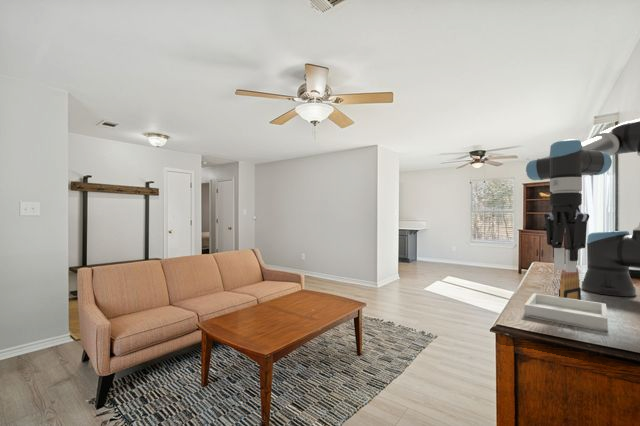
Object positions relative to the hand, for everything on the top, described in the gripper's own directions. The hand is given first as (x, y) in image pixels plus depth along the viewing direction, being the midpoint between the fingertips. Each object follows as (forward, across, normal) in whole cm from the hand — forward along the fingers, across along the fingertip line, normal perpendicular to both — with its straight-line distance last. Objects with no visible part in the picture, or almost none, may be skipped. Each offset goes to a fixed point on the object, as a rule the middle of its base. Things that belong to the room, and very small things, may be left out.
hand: (564, 270), depth 91 cm
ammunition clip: (+14, -13, +13) cm, 23 cm away
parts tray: (+14, 0, 0) cm, 14 cm away
